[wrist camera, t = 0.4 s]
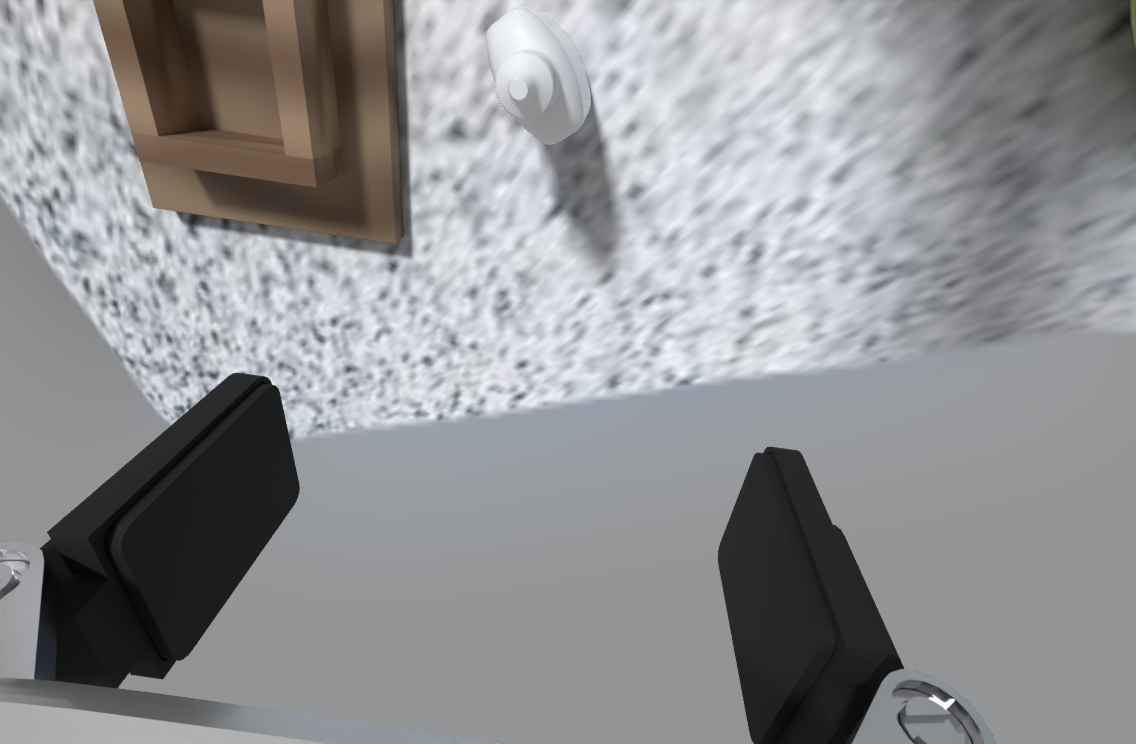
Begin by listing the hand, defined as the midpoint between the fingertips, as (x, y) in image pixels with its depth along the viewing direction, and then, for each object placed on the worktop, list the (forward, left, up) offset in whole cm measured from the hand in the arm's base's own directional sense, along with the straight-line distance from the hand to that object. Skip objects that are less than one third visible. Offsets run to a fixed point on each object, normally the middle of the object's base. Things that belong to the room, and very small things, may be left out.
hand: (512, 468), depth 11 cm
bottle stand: (-4, -20, -27) cm, 33 cm away
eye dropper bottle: (-5, -3, -27) cm, 27 cm away
